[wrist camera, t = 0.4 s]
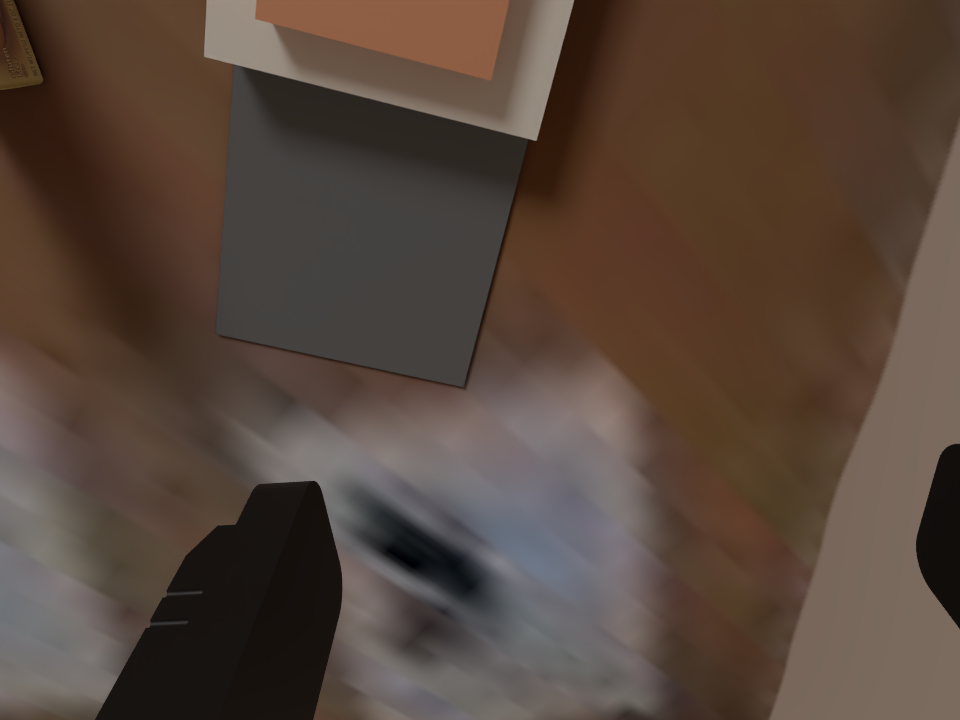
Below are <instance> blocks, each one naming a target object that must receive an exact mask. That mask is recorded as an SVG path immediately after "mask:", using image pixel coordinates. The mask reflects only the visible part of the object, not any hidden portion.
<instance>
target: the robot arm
mask: <svg viewBox="0 0 960 720" xmlns="http://www.w3.org/2000/svg"><path fill="white" fill-rule="evenodd" d="M916 552H917V559H918V563H919V567H920V570H921V573H922V575H923V577H924V579H925V581H926V583H927V585H928V586H929V588H930V589H931V591H932V592H933V593H934V595H935V596H936V597H937V599H938V600H939V602H940V603H941V604H942V606H943V607H944V608H945V610H946V611H947V612H948V614H949V615H950V616H951V618H952V619H953V620H954V622H955V623H956V624H957V626H958V627H959V628H960V444H953V445H950V446H948V447H947V448H946V449H945V450H944V451H943V452H942V454H941V455H940V458H939V461H938V464H937V467H936V471H935V474H934V478H933V481H932V485H931V488H930V492H929V495H928V499H927V502H926V507H925V509H924V513H923V517H922V520H921V524H920V527H919V531H918V534H917V540H916ZM341 602H342V572H341V566H340V561H339V557H338V553H337V550H336V546H335V542H334V538H333V534H332V530H331V526H330V522H329V518H328V514H327V510H326V506H325V502H324V498H323V494H322V491H321V488H320V486H319V485H318V483H317V482H315V481H304V482H287V483H271V484H259V485H257V486H256V487H255V488H254V489H253V491H252V493H251V495H250V497H249V499H248V501H247V503H246V505H245V507H244V509H243V511H242V513H241V515H240V517H239V519H238V521H237V523H236V525H223V526H217V527H216V528H215V529H214V530H213V531H212V532H211V533H209V534H208V535H207V536H206V537H205V538H204V539H203V540H202V541H201V542H200V543H199V544H198V545H197V546H196V547H195V548H194V549H193V550H191V551H190V552H189V553H188V554H187V555H186V556H185V558H184V560H183V562H182V564H181V566H180V567H179V569H178V571H177V573H176V575H175V576H174V578H173V580H172V582H171V584H170V585H169V587H168V589H167V596H166V597H165V598H162V600H161V602H160V603H159V605H158V607H157V609H156V611H155V612H154V614H153V616H152V618H151V620H150V621H151V624H150V627H149V628H146V629H145V630H144V632H143V634H142V636H141V638H140V639H139V641H138V643H137V645H136V647H135V648H134V650H133V652H132V654H131V656H130V657H129V659H128V661H127V663H126V665H125V666H124V668H123V670H122V672H121V674H120V675H119V677H118V679H117V681H116V683H115V684H114V686H113V688H112V690H111V692H110V694H109V695H108V697H107V699H106V701H105V703H104V704H103V706H102V708H101V710H100V712H99V713H98V715H97V717H96V719H95V720H313V718H314V714H315V710H316V706H317V702H318V698H319V694H320V690H321V686H322V682H323V678H324V674H325V670H326V666H327V662H328V658H329V654H330V650H331V646H332V642H333V638H334V634H335V630H336V626H337V622H338V619H339V614H340V609H341Z"/></svg>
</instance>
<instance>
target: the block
mask: <svg viewBox="0 0 960 720" xmlns="http://www.w3.org/2000/svg"><path fill="white" fill-rule="evenodd" d="M508 5H509V0H256V13H255V19H257V20H260V21H264V22H268V23H272V24H276V25H280V26H283V27H287V28H291V29H295V30H299V31H303V32H306V33H310V34H314V35H318V36H322V37H326V38H329V39H333V40H337V41H341V42H345V43H349V44H352V45H356V46H360V47H364V48H368V49H372V50H375V51H379V52H383V53H387V54H391V55H395V56H398V57H402V58H406V59H410V60H414V61H417V62H421V63H425V64H429V65H433V66H437V67H440V68H444V69H448V70H452V71H456V72H460V73H463V74H467V75H471V76H475V77H479V78H483V79H486V80H490V81H491V79H492V74H493V70H494V66H495V61H496V57H497V53H498V48H499V44H500V40H501V35H502V31H503V27H504V22H505V18H506V14H507V9H508Z"/></svg>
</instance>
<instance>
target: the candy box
mask: <svg viewBox="0 0 960 720" xmlns="http://www.w3.org/2000/svg"><path fill="white" fill-rule="evenodd" d="M42 82H43V77H42V75H41V72H40V69H39V67H38V64H37V61H36V58H35V56H34V53H33V50H32V48H31V45H30V42H29V40H28V37H27V34H26V31H25V29H24V26H23V24H22V21H21V18H20V16H19V13H18V10H17V7H16V5H15V2H14V0H0V90H5V89H12V88H19V87H25V86H31V85H37V84H41V83H42Z"/></svg>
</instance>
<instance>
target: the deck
mask: <svg viewBox="0 0 960 720" xmlns="http://www.w3.org/2000/svg"><path fill="white" fill-rule="evenodd" d="M573 3H574V0H509V5H508V9H507V14H506V18H505V22H504V27H503V31H502V35H501V40H500V44H499V48H498V53H497V57H496V61H495V66H494V70H493V74H492V79H491V81H490V80H486V79H483V78H479V77H475V76H471V75H467V74H463V73H460V72H456V71H452V70H448V69H444V68H440V67H437V66H433V65H429V64H425V63H421V62H417V61H414V60H410V59H406V58H402V57H398V56H395V55H391V54H387V53H383V52H379V51H375V50H372V49H368V48H364V47H360V46H356V45H352V44H349V43H345V42H341V41H337V40H333V39H329V38H326V37H322V36H318V35H314V34H310V33H306V32H303V31H299V30H295V29H291V28H287V27H283V26H280V25H276V24H272V23H268V22H264V21H260V20H257V19H255V13H256V0H207V9H206V29H205V49H204V57H207V58H211V59H215V60H219V61H223V62H227V63H231V64H235V65H239V66H243V67H247V68H251V69H255V70H259V71H263V72H267V73H271V74H274V75H278V76H282V77H286V78H290V79H294V80H298V81H302V82H306V83H310V84H314V85H318V86H322V87H326V88H330V89H334V90H338V91H341V92H345V93H349V94H353V95H357V96H361V97H365V98H369V99H373V100H377V101H381V102H385V103H389V104H393V105H397V106H401V107H404V108H408V109H412V110H416V111H420V112H424V113H428V114H432V115H436V116H440V117H444V118H448V119H452V120H456V121H460V122H464V123H468V124H471V125H475V126H479V127H483V128H487V129H491V130H495V131H499V132H503V133H507V134H511V135H515V136H519V137H523V138H527V139H531V140H534V141H537V137H538V134H539V130H540V126H541V122H542V119H543V115H544V111H545V107H546V104H547V100H548V96H549V93H550V89H551V85H552V81H553V78H554V74H555V70H556V66H557V63H558V59H559V55H560V52H561V48H562V44H563V40H564V37H565V33H566V29H567V25H568V22H569V18H570V14H571V11H572V7H573Z"/></svg>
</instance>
